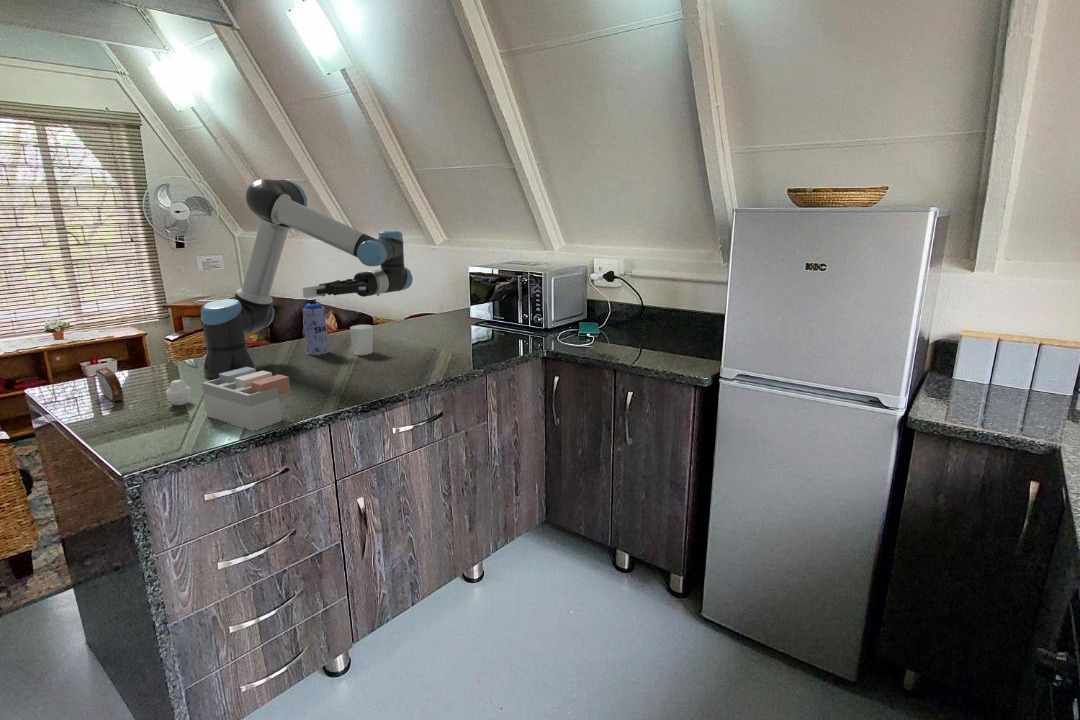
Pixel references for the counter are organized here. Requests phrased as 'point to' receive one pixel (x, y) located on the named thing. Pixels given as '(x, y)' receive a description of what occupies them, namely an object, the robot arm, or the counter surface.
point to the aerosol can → (315, 328)
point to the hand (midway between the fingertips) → (304, 292)
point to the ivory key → (251, 378)
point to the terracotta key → (272, 384)
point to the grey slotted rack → (241, 404)
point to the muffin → (178, 392)
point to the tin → (109, 384)
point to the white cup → (362, 339)
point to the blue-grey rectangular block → (235, 374)
